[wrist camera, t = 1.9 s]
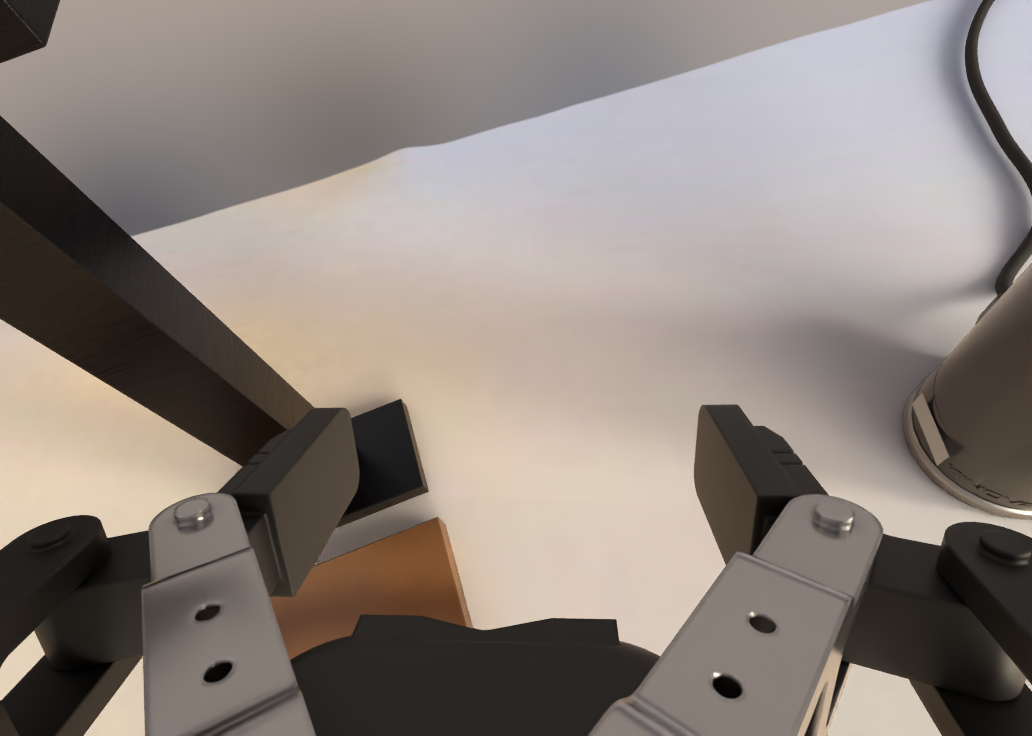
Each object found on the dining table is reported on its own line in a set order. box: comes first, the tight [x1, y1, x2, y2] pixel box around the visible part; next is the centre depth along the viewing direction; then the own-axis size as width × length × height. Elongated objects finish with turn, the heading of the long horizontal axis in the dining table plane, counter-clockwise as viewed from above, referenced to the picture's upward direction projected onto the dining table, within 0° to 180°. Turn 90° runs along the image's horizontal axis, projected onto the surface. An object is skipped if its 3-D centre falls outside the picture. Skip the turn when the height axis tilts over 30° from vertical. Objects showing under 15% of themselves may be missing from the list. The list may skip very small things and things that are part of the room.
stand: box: [0, 0, 428, 528], centre depth 26 cm, size 8×14×31 cm, turn 109°
